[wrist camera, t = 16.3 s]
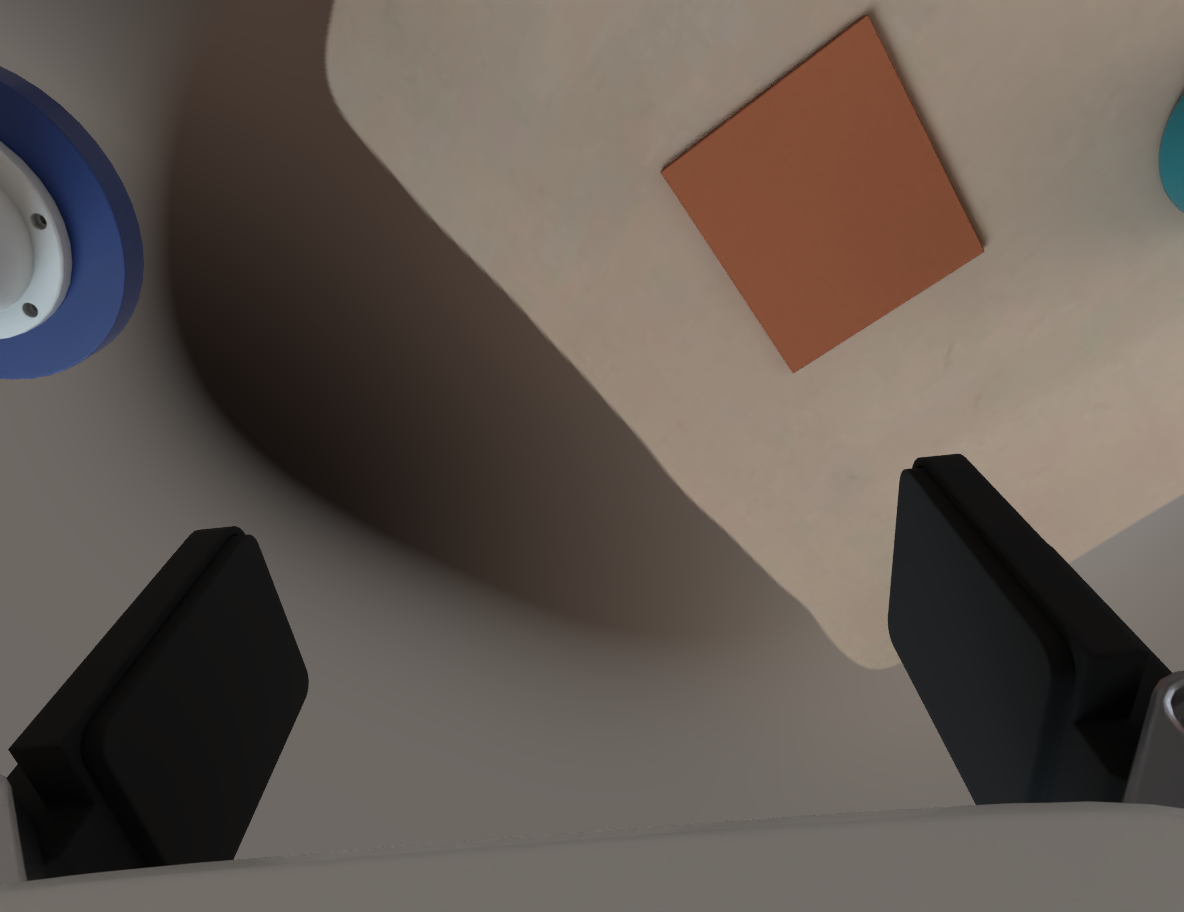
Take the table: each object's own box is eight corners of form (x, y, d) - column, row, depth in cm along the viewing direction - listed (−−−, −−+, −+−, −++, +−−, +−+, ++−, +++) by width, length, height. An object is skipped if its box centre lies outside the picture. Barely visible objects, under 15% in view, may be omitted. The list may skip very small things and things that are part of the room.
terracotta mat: (660, 171, 40) (660, 172, 39) (865, 14, 37) (868, 14, 36) (791, 371, 45) (793, 373, 45) (981, 250, 42) (984, 251, 41)
